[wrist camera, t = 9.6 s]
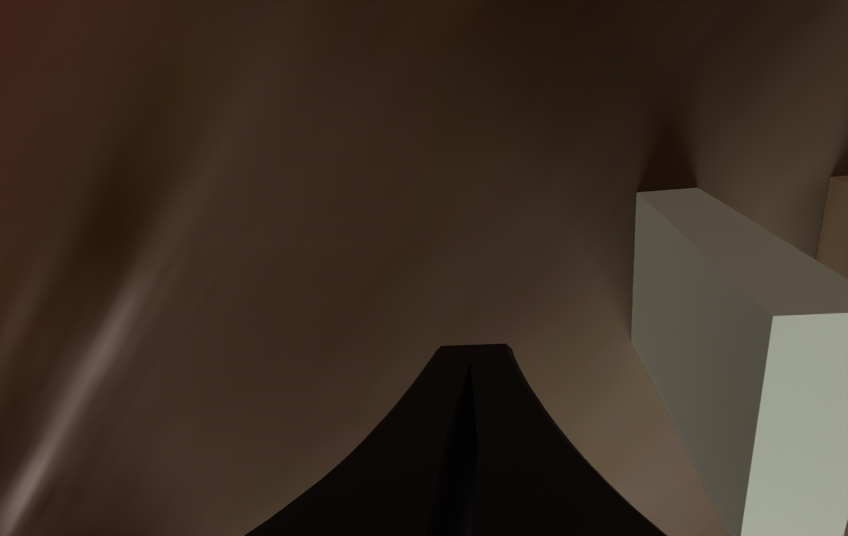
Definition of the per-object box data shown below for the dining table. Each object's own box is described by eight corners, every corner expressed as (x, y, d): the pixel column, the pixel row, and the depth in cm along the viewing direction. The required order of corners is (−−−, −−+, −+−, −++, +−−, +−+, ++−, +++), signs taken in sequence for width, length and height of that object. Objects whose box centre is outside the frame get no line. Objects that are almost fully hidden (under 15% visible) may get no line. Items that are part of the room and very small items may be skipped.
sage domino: (698, 187, 13) (898, 310, 7) (685, 338, 15) (838, 555, 8) (636, 192, 13) (773, 315, 7) (631, 340, 15) (738, 553, 9)
